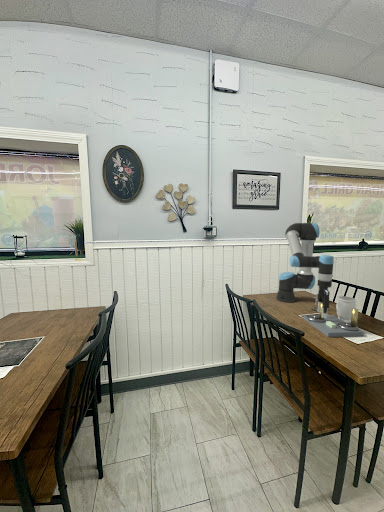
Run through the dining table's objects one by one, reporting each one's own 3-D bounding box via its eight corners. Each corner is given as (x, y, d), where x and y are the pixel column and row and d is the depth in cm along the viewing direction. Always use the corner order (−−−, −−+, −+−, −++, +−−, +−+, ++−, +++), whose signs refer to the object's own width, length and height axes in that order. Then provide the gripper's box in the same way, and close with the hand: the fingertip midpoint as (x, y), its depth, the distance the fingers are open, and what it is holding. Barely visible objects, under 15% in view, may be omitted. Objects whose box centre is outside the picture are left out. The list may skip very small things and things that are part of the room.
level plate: (303, 319, 145) (304, 312, 144) (332, 318, 146) (333, 311, 145) (328, 337, 121) (328, 328, 120) (362, 336, 122) (363, 328, 121)
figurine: (323, 308, 164) (324, 293, 162) (326, 312, 157) (327, 296, 156) (307, 307, 166) (308, 292, 164) (309, 310, 159) (311, 295, 158)
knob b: (346, 331, 122) (347, 312, 121) (333, 323, 132) (335, 306, 131) (363, 330, 123) (364, 312, 121) (349, 323, 133) (351, 306, 131)
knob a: (307, 320, 136) (308, 304, 135) (305, 314, 145) (306, 299, 144) (326, 323, 132) (327, 306, 131) (323, 317, 141) (324, 301, 140)
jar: (357, 324, 137) (360, 301, 135) (339, 323, 139) (341, 300, 137) (349, 317, 147) (351, 296, 145) (332, 316, 149) (334, 295, 147)
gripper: (337, 284, 123) (334, 322, 126) (326, 276, 144) (323, 309, 146) (322, 283, 125) (319, 320, 128) (313, 276, 146) (311, 308, 149)
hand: (322, 314), depth 137 cm, fingers open, 9 cm apart
